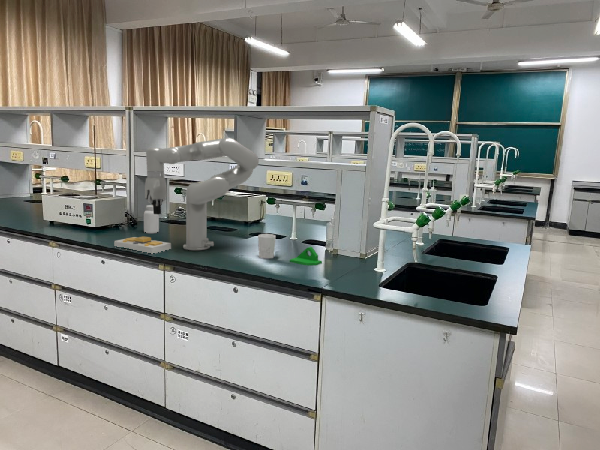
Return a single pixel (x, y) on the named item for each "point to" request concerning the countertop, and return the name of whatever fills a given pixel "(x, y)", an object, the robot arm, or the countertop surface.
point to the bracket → (307, 258)
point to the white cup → (266, 245)
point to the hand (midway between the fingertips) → (157, 214)
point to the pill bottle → (151, 220)
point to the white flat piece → (143, 246)
